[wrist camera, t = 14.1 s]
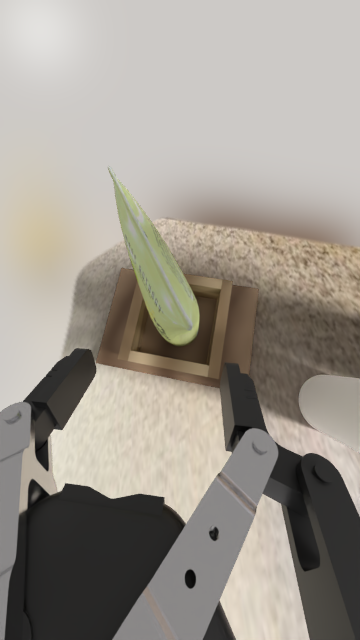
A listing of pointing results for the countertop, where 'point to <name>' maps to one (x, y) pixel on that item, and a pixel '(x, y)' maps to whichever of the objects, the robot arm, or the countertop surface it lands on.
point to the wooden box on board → (191, 360)
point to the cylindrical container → (333, 407)
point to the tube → (157, 272)
